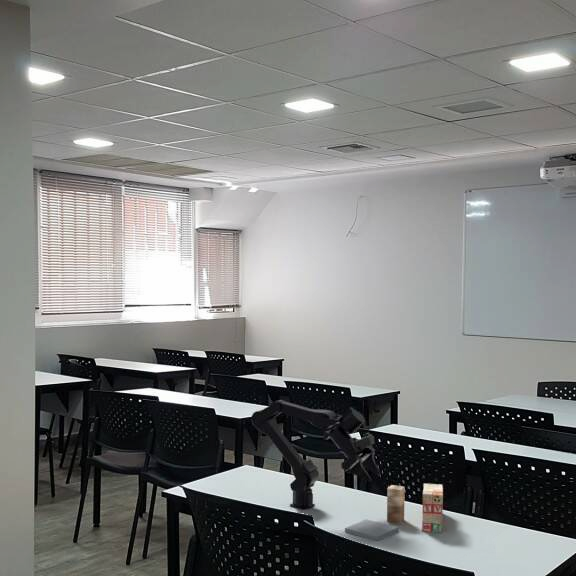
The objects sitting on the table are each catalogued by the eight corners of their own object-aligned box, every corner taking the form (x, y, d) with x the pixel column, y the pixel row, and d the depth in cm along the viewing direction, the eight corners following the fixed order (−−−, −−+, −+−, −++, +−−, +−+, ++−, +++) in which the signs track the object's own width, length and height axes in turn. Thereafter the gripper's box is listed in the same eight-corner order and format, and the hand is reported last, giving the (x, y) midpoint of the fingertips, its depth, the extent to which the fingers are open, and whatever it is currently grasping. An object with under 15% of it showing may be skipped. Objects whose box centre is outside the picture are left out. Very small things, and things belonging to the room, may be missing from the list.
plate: (344, 532, 226) (345, 528, 226) (366, 522, 235) (366, 519, 235) (377, 540, 218) (377, 536, 218) (398, 531, 227) (398, 527, 227)
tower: (386, 521, 237) (387, 488, 237) (391, 517, 241) (391, 485, 241) (400, 523, 235) (400, 490, 235) (404, 519, 239) (404, 486, 239)
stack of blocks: (423, 512, 248) (424, 476, 248) (442, 513, 247) (442, 477, 247) (422, 532, 227) (422, 493, 227) (442, 533, 226) (442, 494, 226)
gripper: (350, 430, 235) (382, 468, 230) (369, 421, 252) (399, 456, 247) (328, 452, 238) (359, 490, 233) (348, 442, 255) (377, 477, 250)
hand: (374, 477), depth 241 cm, fingers open, 9 cm apart
